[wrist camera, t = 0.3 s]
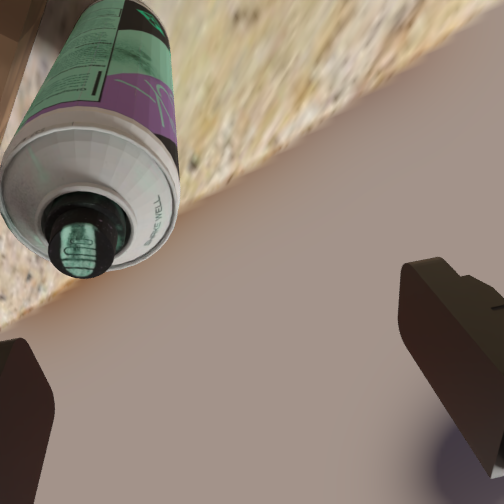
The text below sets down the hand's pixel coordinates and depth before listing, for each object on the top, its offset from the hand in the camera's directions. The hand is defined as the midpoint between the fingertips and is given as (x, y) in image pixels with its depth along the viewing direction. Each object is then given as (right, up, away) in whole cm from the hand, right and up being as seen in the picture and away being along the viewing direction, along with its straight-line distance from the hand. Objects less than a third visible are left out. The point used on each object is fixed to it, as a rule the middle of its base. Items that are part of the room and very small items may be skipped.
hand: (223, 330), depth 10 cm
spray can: (-7, +14, +18) cm, 24 cm away
